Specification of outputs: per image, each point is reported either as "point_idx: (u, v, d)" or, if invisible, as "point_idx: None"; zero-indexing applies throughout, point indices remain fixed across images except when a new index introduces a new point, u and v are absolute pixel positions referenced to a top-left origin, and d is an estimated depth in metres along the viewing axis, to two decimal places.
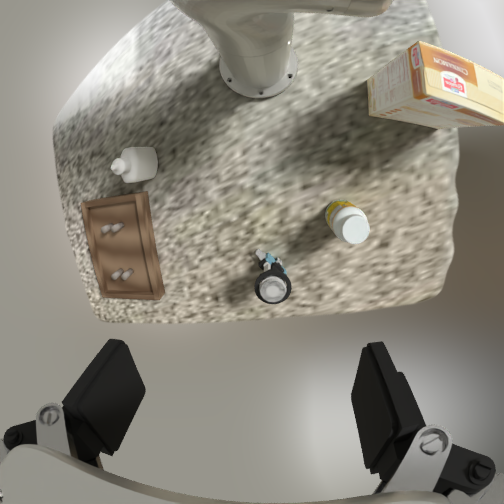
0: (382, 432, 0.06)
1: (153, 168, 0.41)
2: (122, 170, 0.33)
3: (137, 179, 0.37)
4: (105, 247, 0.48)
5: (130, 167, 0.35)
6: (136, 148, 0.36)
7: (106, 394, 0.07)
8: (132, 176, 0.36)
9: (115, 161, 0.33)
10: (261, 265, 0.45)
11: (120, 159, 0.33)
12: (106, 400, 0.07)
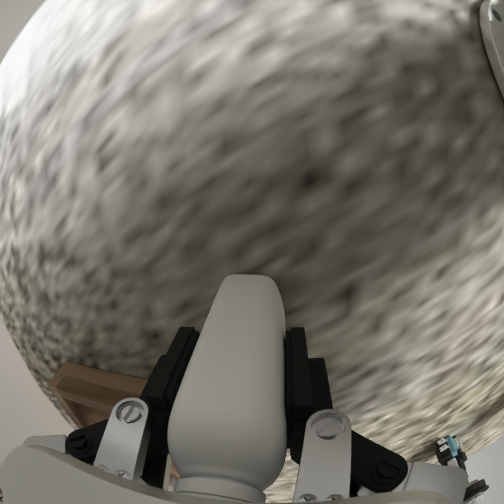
0: (286, 410, 0.07)
1: None
2: None
3: None
4: None
5: None
6: (268, 395, 0.06)
7: None
8: None
9: None
10: (442, 461, 0.15)
11: None
12: None
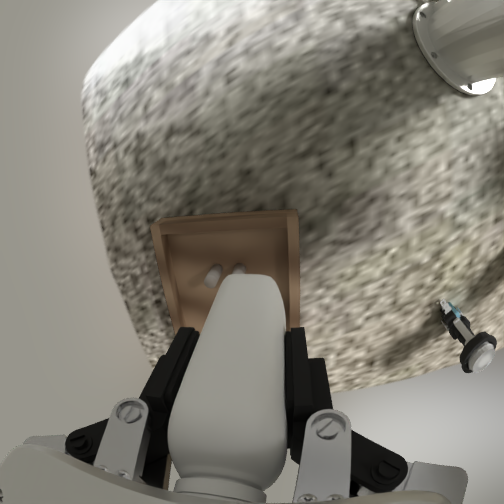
0: (286, 410, 0.07)
1: None
2: None
3: None
4: (199, 304, 0.29)
5: None
6: (268, 395, 0.06)
7: None
8: None
9: None
10: (449, 321, 0.26)
11: None
12: None
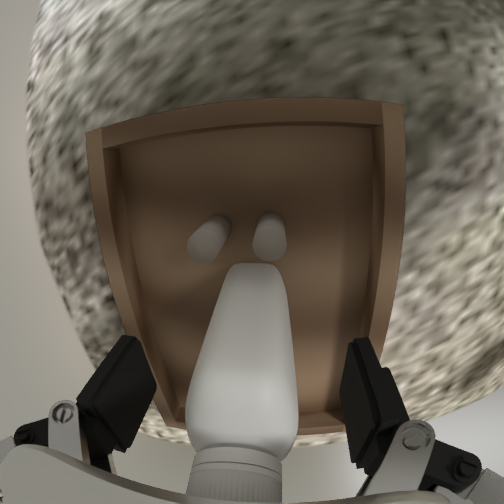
0: (365, 426, 0.06)
1: None
2: None
3: None
4: (180, 304, 0.14)
5: None
6: (282, 363, 0.07)
7: (120, 390, 0.08)
8: None
9: None
10: None
11: None
12: (120, 396, 0.08)
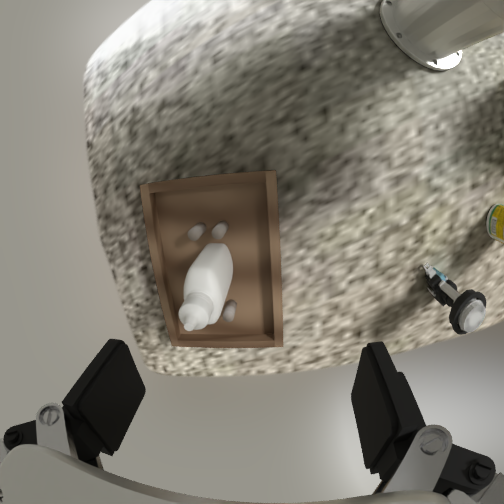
0: (382, 432, 0.06)
1: (230, 281, 0.28)
2: (203, 325, 0.20)
3: (218, 318, 0.24)
4: (183, 265, 0.30)
5: (212, 310, 0.21)
6: (214, 268, 0.23)
7: (106, 394, 0.07)
8: (212, 319, 0.23)
9: (187, 309, 0.19)
10: (434, 285, 0.28)
11: (198, 306, 0.19)
12: (106, 400, 0.07)
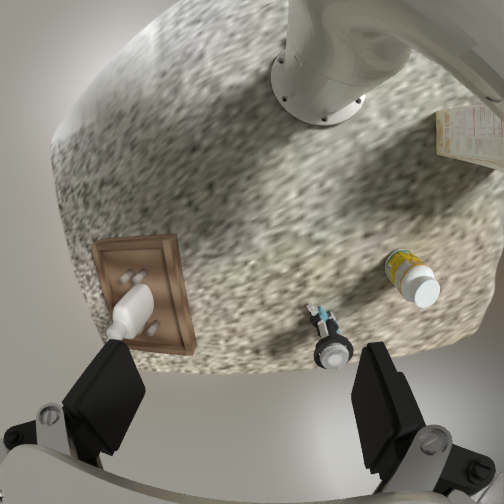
0: (382, 432, 0.06)
1: (149, 310, 0.39)
2: None
3: (135, 335, 0.35)
4: None
5: (126, 332, 0.32)
6: (128, 306, 0.33)
7: (106, 394, 0.07)
8: (130, 336, 0.34)
9: (109, 331, 0.30)
10: (314, 322, 0.38)
11: (114, 330, 0.30)
12: (106, 400, 0.07)
